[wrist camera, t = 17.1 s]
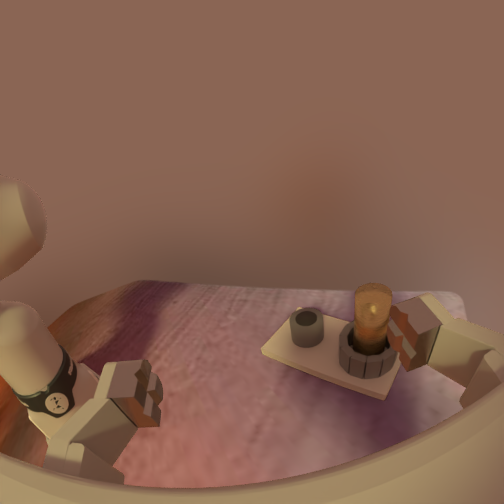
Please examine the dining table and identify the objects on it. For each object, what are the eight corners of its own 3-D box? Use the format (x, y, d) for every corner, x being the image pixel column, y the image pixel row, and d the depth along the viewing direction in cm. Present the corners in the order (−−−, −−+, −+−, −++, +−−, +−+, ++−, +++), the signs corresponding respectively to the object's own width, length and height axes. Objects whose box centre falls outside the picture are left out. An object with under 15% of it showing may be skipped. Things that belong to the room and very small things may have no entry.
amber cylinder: (347, 362, 39) (349, 301, 34) (358, 341, 43) (362, 280, 37) (377, 371, 36) (386, 309, 31) (386, 348, 40) (396, 286, 34)
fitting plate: (262, 354, 47) (256, 331, 44) (299, 312, 54) (296, 289, 52) (384, 400, 33) (391, 378, 30) (408, 344, 41) (414, 319, 38)
